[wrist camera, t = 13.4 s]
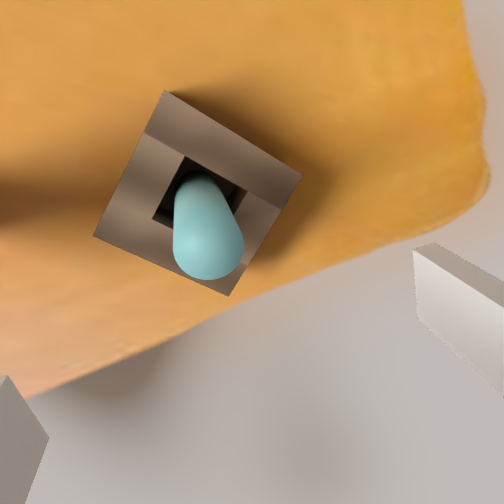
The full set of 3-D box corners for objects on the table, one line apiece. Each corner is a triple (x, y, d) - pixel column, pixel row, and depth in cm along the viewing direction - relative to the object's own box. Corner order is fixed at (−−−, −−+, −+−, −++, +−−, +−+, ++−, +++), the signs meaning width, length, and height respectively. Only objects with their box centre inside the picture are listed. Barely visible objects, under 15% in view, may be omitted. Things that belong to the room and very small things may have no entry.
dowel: (187, 162, 33) (193, 200, 20) (227, 183, 34) (257, 232, 21) (167, 201, 34) (160, 262, 21) (206, 221, 35) (223, 290, 22)
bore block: (166, 91, 31) (164, 89, 26) (283, 164, 35) (303, 175, 30) (106, 214, 34) (92, 236, 29) (221, 268, 38) (228, 296, 33)
